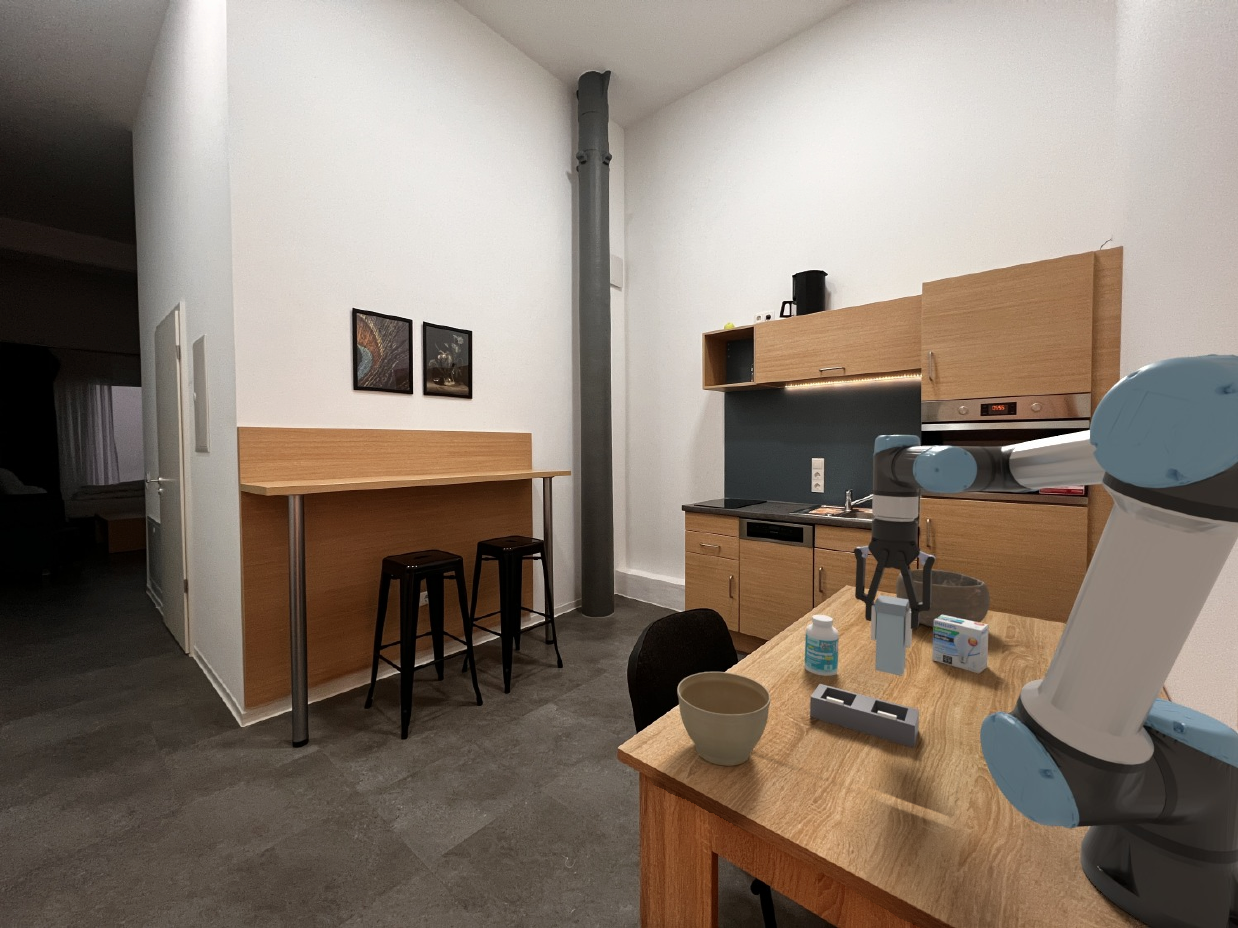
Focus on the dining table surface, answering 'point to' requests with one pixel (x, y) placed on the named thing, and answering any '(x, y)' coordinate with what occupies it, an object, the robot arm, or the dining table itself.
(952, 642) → the light bulb box
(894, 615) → the plug
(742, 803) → the dining table surface
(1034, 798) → the robot arm
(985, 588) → the bowl
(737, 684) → the planter bowl
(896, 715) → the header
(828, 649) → the pill bottle
